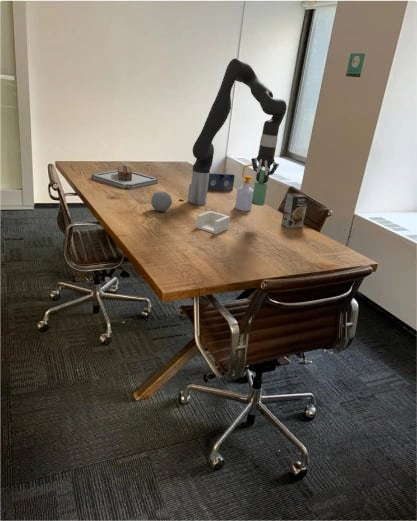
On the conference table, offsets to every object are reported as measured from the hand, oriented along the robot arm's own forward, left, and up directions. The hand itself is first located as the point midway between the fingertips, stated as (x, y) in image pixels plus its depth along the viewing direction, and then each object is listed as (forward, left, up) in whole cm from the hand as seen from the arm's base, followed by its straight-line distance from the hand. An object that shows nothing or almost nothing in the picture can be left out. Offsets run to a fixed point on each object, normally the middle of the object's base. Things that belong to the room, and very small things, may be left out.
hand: (261, 181), depth 210 cm
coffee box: (+13, +17, -22) cm, 31 cm away
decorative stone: (-43, -19, -22) cm, 52 cm away
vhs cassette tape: (-47, +45, -22) cm, 69 cm away
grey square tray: (-93, +11, -23) cm, 96 cm away
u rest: (-12, -20, -22) cm, 32 cm away
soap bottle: (-18, +22, -22) cm, 36 cm away
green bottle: (0, 0, -11) cm, 11 cm away
